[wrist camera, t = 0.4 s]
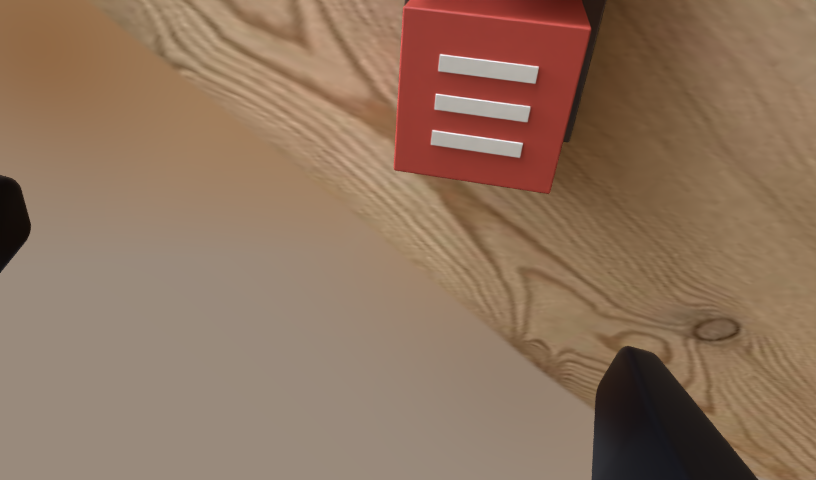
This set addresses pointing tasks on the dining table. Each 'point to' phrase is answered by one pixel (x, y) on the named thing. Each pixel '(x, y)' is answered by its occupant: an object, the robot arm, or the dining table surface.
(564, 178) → the dining table surface
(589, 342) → the dining table surface
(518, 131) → the white-striped red block
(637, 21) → the dining table surface
